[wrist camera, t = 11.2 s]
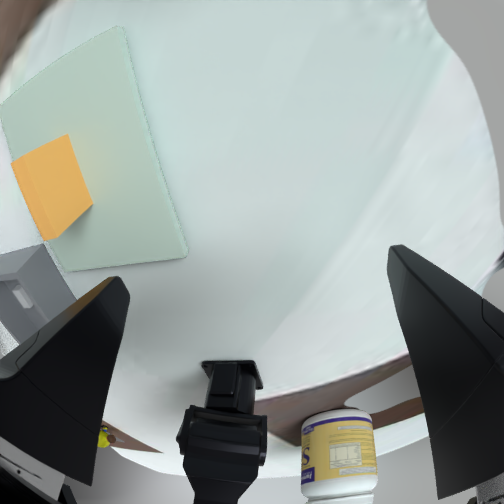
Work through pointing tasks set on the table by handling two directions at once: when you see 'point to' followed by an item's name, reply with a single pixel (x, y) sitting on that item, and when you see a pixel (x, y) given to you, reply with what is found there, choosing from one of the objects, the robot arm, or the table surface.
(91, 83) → the lid
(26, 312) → the tub
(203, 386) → the table surface
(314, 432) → the supplement tub
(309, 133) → the table surface
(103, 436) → the toy figure
